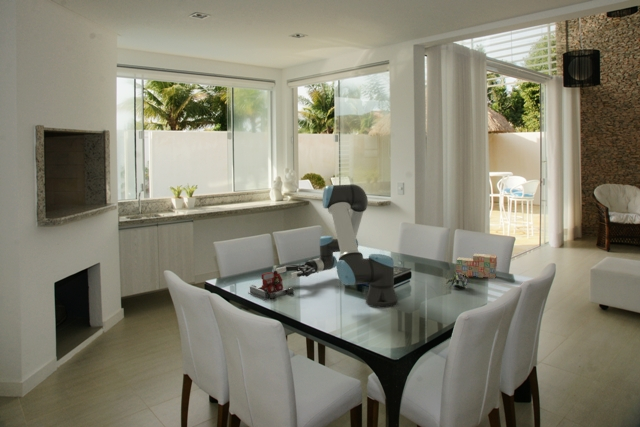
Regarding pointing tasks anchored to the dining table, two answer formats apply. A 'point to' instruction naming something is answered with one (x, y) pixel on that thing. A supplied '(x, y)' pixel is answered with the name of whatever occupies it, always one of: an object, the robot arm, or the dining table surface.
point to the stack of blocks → (478, 265)
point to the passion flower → (458, 279)
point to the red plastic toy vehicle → (272, 282)
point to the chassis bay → (266, 294)
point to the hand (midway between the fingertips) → (283, 273)
